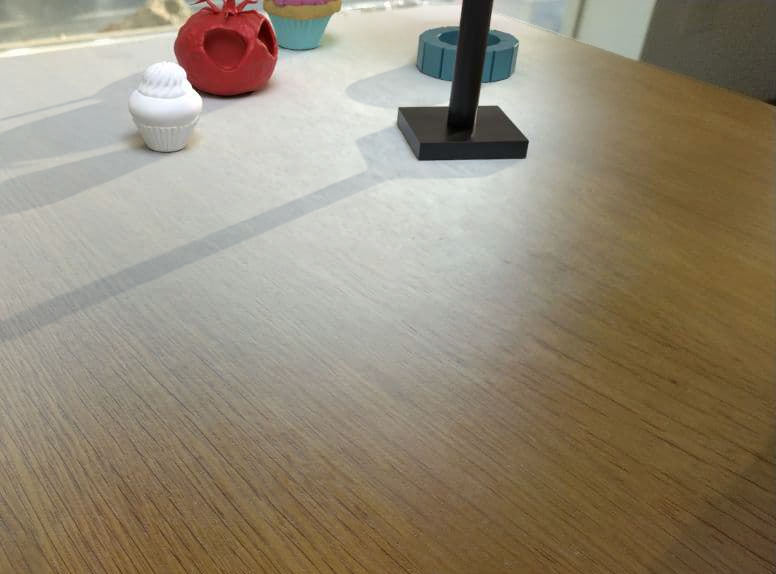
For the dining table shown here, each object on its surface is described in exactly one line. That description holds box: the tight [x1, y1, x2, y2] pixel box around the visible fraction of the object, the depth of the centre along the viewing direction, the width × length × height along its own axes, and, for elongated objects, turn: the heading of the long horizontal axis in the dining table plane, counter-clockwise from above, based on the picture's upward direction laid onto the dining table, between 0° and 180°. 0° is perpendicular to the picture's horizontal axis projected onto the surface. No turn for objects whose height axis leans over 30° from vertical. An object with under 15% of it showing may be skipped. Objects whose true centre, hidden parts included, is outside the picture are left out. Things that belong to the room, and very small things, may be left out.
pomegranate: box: [173, 0, 279, 96], centre depth 93 cm, size 10×10×9 cm
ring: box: [415, 25, 520, 83], centre depth 101 cm, size 10×10×3 cm
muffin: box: [127, 60, 203, 153], centre depth 81 cm, size 6×6×7 cm
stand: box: [396, 0, 530, 161], centre depth 80 cm, size 9×9×14 cm
